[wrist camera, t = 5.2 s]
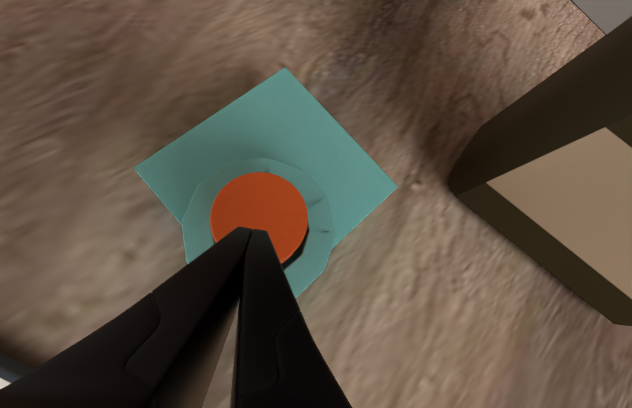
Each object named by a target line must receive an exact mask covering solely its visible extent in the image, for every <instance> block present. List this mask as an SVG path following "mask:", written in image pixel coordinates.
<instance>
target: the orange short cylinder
mask: <svg viewBox="0 0 632 408" xmlns="http://www.w3.org/2000/svg"><path fill="white" fill-rule="evenodd" d="M307 225H308V212H307V207H306V204H305V201H304V199H303V197H302V195H301V194H300V192H299V191H298V190H297V188H296V187H295V186H294V185H293V184H291V183H290V182H289V181H287V180H286V179H284V178H282V177H280V176H278V175H275V174H271V173H266V172H254V173H248V174H244V175H241V176H239V177H237V178H235V179H233V180H232V181H230V182H229V183H228V184H226V185H225V186H224V187H223V188H222V189H221V191H220V192H219V193H218V195H217V196H216V198H215V200H214V202H213V205H212V208H211V213H210V227H211V232H212V235H213V238H214V240H215V242H216V243H217V242H218V241H219V240H221V239H222V238H223V237H225V236H226V235H227V234H228V233H230V232H231V231H232V230H234V229H235V228H236V227H238V226H241V227H247V228H251V229H252V230H253V229H260V230H266V231H267V232H268V234H269V236H270V239H271V241H272V243H273V246H274V248H275V251H276V253H277V255H278V258H279V260H280V263H281V264H282V263H283V262H285V261H286V260H287V259H288V258H289V257H290V256H291V255H292V254H293V253H294V252H295V251H296V249H297V248H298V247H299V245H300V244H301V242H302V241H303V239H304V236H305V234H306V230H307Z"/></svg>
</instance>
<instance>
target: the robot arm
mask: <svg viewBox="0 0 632 408" xmlns="http://www.w3.org/2000/svg"><path fill="white" fill-rule="evenodd" d="M239 300H240V301H239ZM238 304H239V310H238V320H237V332H236V344H235V355H234V367H233V379H232V390H231V402H230V408H352V407H351V405H350V403H349V401H348V400H347V398H346V396H345V395H344V393H343V391H342V389H341V388H340V386H339V384H338V383H337V381H336V379H335V377H334V376H333V374H332V372H331V371H330V369H329V367H328V365H327V364H326V362H325V360H324V359H323V357H322V355H321V353H320V351H319V349H318V348H317V346H316V344H315V342H314V340H313V338H312V336H311V334H310V331H309V329H308V327H307V325H306V323H305V320H304V318H303V315H302V313H301V312H300V308H299V306H298V304H297V301H296V299H295V296H294V294H293V292H292V289H291V287H290V284H289V282H288V280H287V277H286V275H285V272H284V270H283V267H282V265H281V263H280V260H279V258H278V255H277V253H276V251H275V248H274V246H273V243H272V241H271V239H270V236H269V234H268V232H267V231H266V230H260V229H253V230H252V229H251V228H247V227H241V226H238V227H236V228H235V229H234V230H232V231H231V232H230V233H228V234H227V235H226V236H225V237H223V238H222V239H221V240H219V241H218V242H217V243H215V244H214V245H213V246H211V247H210V248H209V249H207V250H206V251H205V252H203V253H202V254H201V255H199V256H198V257H197V258H195V259H194V260H193V261H191V262H190V263H189V264H188V265H186V266H185V267H184V268H182V269H181V270H180V271H178V272H177V273H176V274H174V275H173V276H172V277H170V278H169V279H168V280H166V281H165V282H164V283H162V284H161V285H160V286H158V287H157V288H156V289H154V290H153V291H152V293H149V294H148V295H146V296H145V297H144V298H142V299H141V300H140V301H138V302H137V303H136V304H134V305H133V306H131V307H130V308H129V309H127V310H126V311H125V312H123V313H122V314H120V315H119V316H118V317H116V318H115V319H113V320H111V321H110V322H108V323H107V324H105V325H104V326H102V327H101V328H99V329H98V330H96V331H95V332H93V333H92V334H90V335H88V336H87V337H85V338H84V339H82V340H80V341H79V342H77V343H76V344H74V345H72V346H71V347H69V348H68V349H66V350H64V351H63V352H61V353H59V354H58V355H56V356H55V357H53V358H51V359H50V360H48V361H47V362H45V363H43V364H42V365H40V366H39V367H37V368H35V369H34V370H32V371H31V372H29V373H27V374H26V375H24V376H23V377H21V378H19V379H18V380H16V381H14V382H12V383H11V384H9V385H7V386H5V387H3V388H1V389H0V408H201V407H202V405H203V402H204V399H205V396H206V394H207V391H208V388H209V385H210V383H211V380H212V377H213V374H214V371H215V369H216V366H217V363H218V360H219V358H220V355H221V352H222V349H223V346H224V344H225V341H226V338H227V335H228V333H229V330H230V327H231V324H232V321H233V319H234V316H235V313H236V310H237V307H238Z"/></svg>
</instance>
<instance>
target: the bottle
mask: <svg viewBox="0 0 632 408" xmlns="http://www.w3.org/2000/svg"><path fill="white" fill-rule="evenodd" d="M447 185H448V186H449V187H450V189H451V190H452V192H453V193H454V194H455V196H456V197H457V198H459V199H460V200H461V201H462V202H464V203H465V204H466V205H467V206H469V207H470V208H471V209H472V210H474V211H475V212H476V213H477V214H479V215H480V216H481V217H482V218H483V219H485V220H486V221H487V222H488V223H490V224H491V225H492V226H493V227H495V228H496V229H497V230H498V231H500V232H501V233H502V234H503V235H505V236H506V237H507V238H508V239H509V240H511V241H512V242H513V243H514V244H516V245H517V246H518V247H519V248H521V249H522V250H523V251H524V252H526V253H527V254H528V255H529V256H531V257H532V258H533V259H534V260H535V261H537V262H538V263H539V264H540V265H542V266H543V267H544V268H545V269H547V270H548V271H549V272H550V273H552V274H553V275H554V276H555V277H557V278H558V279H559V280H560V281H562V282H563V283H564V284H565V285H566V286H568V287H569V288H570V289H571V290H573V291H574V292H575V293H576V294H578V295H579V296H580V297H581V298H583V299H584V300H585V301H586V302H588V303H589V304H590V305H591V306H592V307H594V308H595V309H596V310H597V311H599V312H600V313H601V314H602V315H604V316H605V317H606V318H607V319H609V320H610V321H611V322H612V323H614V324H619V325H627V326H632V16H631V17H630V18H628V19H627V20H626V21H624V22H623V23H622V24H620V25H619V26H618V27H616V28H615V29H613V30H612V31H611V32H609V33H608V34H607V35H605V36H604V37H603V38H601V39H600V40H598V41H597V42H596V43H594V44H593V45H592V46H590V47H589V48H588V49H586V50H585V51H583V52H582V53H581V54H579V55H578V56H577V57H575V58H574V59H573V60H571V61H570V62H568V63H567V64H566V65H564V66H563V67H562V68H560V69H559V70H558V71H556V72H555V73H553V74H552V75H551V76H549V77H548V78H547V79H545V80H544V81H543V82H541V83H540V84H538V85H537V86H536V87H534V88H533V89H532V90H530V91H529V92H528V93H526V94H525V95H523V96H522V97H521V98H519V99H518V100H517V101H515V102H514V103H513V104H511V105H510V106H508V107H507V108H506V109H504V110H503V111H502V112H500V113H499V114H498V115H496V116H495V117H493V118H492V119H491V120H489V121H488V122H487V123H485V124H484V125H483V126H481V128H480V129H479V130H478V132H477V133H476V135H475V136H474V137H473V139H472V140H471V142H470V143H469V144H468V146H467V147H466V149H465V150H464V152H463V153H462V154H461V156H460V157H459V159H458V160H457V161H456V163H455V165H454V167H453V170H452V173H451V175H450V178H449V181H448V183H447Z"/></svg>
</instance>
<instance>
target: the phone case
mask: <svg viewBox="0 0 632 408" xmlns="http://www.w3.org/2000/svg"><path fill="white" fill-rule="evenodd" d="M32 370H34V369H33V368H31V367H29V366H27V365H25V364H23V363H21V362H19V361H17V360H15V359H13V358H11V357H9V356H7V355H5V354H3V353H1V352H0V389H1V388H3V387H5V386H7V385H9V384H11V383H12V382H14V381H16V380H18V379H19V378H21V377H23V376H24V375H26V374H27V373H29V372H31V371H32Z"/></svg>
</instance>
